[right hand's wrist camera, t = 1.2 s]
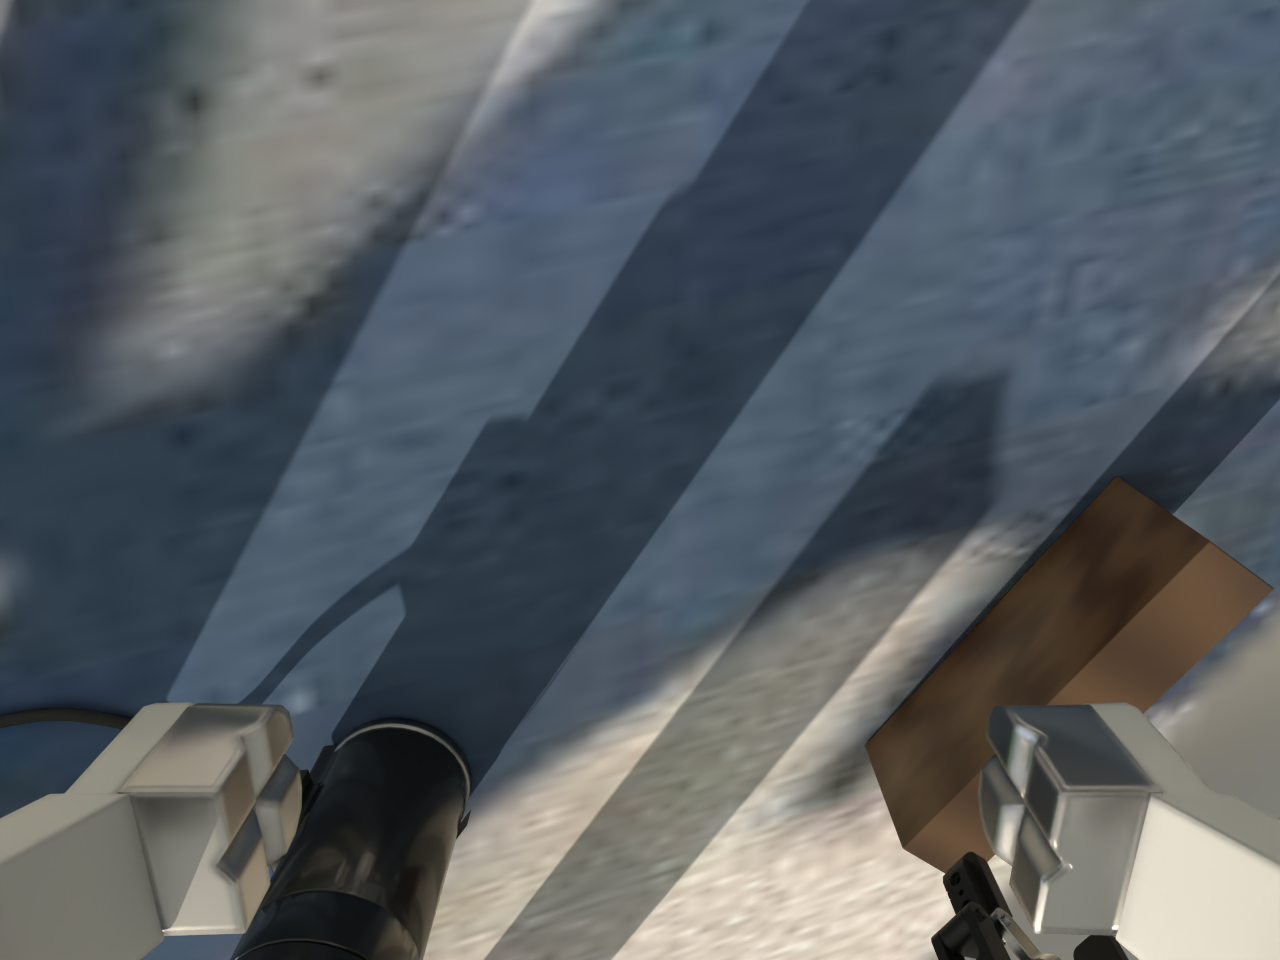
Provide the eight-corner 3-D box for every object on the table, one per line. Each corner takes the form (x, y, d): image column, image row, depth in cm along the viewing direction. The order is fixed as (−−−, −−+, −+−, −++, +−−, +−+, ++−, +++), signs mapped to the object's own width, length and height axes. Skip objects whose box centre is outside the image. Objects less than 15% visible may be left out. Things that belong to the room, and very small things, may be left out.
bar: (1115, 475, 52) (1210, 541, 43) (1171, 516, 53) (1274, 589, 44) (864, 745, 58) (902, 848, 50) (917, 777, 59) (963, 884, 51)
